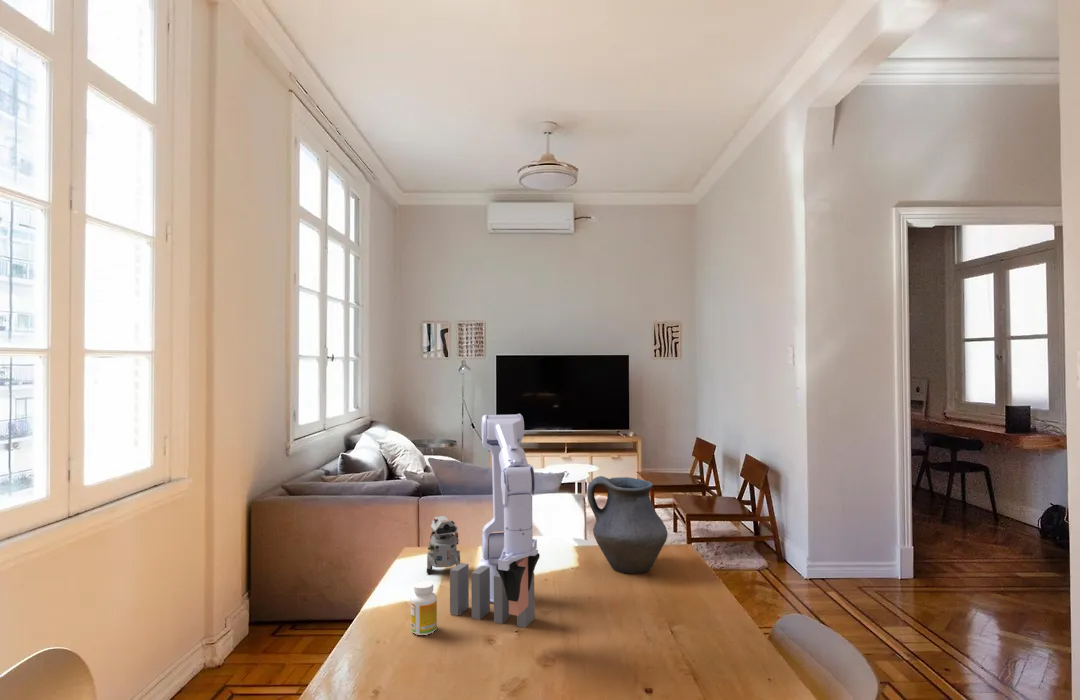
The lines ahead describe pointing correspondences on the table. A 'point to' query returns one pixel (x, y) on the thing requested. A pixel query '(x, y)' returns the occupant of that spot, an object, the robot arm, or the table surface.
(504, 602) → the domino
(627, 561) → the pitcher
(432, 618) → the supplement bottle
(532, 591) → the domino
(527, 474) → the robot arm
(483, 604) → the domino
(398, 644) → the table surface
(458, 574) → the domino
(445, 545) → the figurine
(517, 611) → the red domino
